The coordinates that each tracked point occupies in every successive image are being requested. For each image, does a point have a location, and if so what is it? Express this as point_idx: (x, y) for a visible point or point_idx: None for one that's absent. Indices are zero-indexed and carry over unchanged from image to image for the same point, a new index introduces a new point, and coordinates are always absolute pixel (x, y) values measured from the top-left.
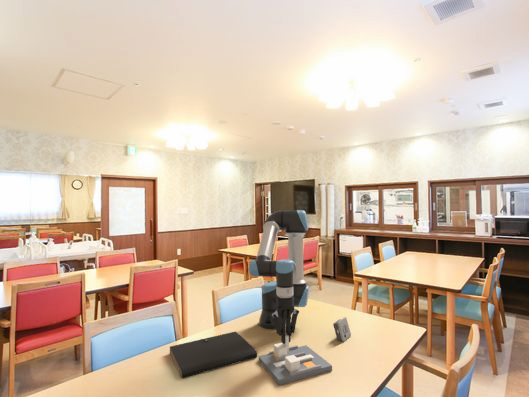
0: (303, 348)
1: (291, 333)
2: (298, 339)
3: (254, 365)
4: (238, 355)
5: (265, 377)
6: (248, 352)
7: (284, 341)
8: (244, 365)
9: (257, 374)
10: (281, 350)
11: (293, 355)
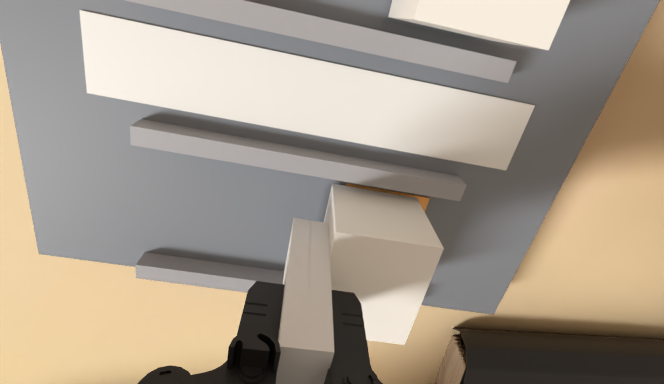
0: (95, 223)
1: (202, 374)
2: (49, 364)
3: (544, 259)
4: (601, 374)
5: (630, 84)
6: (527, 372)
7: (336, 309)
8: (586, 291)
9: (629, 157)
10: (406, 230)
11: (431, 3)
